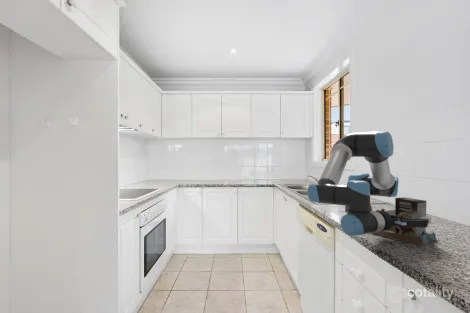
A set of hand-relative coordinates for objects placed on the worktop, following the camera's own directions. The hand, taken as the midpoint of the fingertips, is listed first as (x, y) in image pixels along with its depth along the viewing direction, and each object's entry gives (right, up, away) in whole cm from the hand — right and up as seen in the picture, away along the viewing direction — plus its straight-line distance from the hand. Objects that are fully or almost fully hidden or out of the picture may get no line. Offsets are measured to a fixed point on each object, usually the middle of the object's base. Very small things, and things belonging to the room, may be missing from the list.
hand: (412, 216), depth 106 cm
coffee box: (-1, -9, 0) cm, 9 cm away
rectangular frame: (-3, -9, +4) cm, 10 cm away
